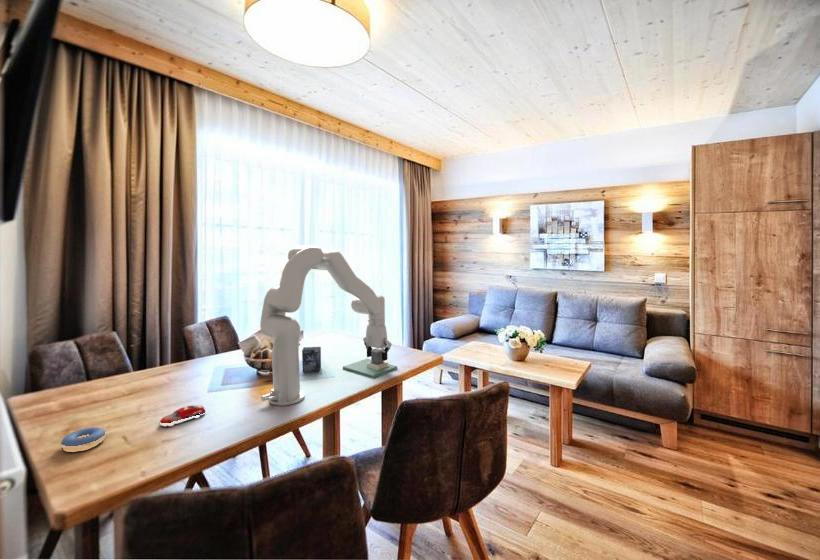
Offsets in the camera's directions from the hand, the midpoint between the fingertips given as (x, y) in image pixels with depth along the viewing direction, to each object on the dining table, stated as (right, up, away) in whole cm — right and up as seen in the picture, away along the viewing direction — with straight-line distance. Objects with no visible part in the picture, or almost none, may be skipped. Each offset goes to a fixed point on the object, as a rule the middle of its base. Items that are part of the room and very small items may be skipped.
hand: (377, 358), depth 173 cm
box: (-30, -6, 0) cm, 31 cm away
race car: (-61, -11, -49) cm, 79 cm away
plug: (0, -4, +1) cm, 4 cm away
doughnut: (-80, -12, -65) cm, 103 cm away
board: (-3, -5, +1) cm, 6 cm away
